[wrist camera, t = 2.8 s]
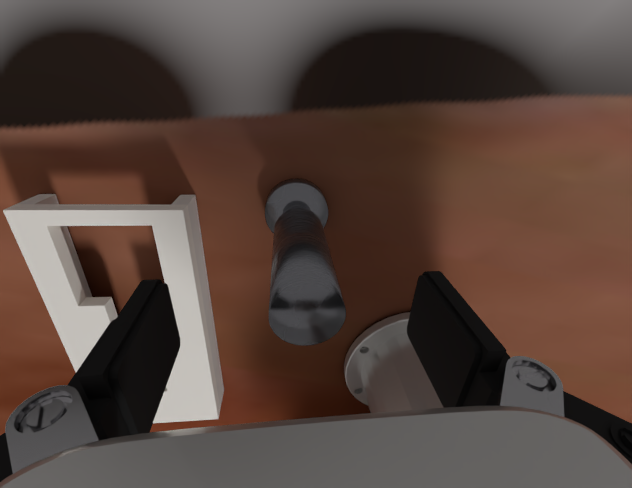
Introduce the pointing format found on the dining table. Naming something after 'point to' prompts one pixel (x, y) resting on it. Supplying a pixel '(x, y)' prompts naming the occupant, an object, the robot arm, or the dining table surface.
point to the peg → (302, 266)
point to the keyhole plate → (97, 312)
